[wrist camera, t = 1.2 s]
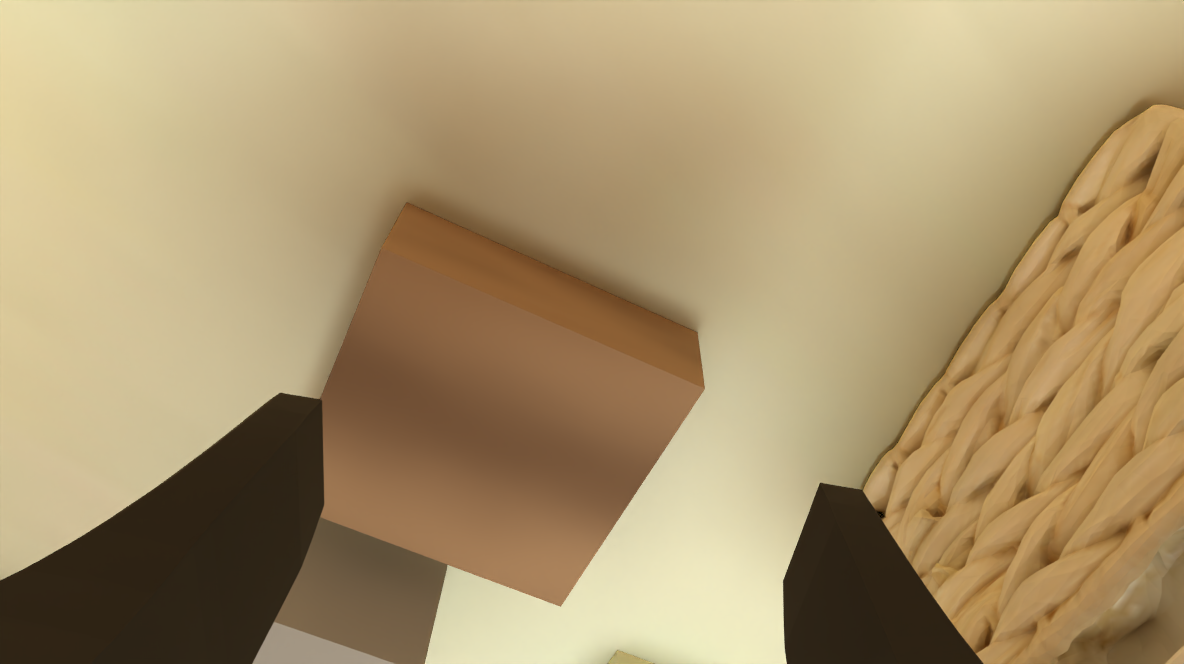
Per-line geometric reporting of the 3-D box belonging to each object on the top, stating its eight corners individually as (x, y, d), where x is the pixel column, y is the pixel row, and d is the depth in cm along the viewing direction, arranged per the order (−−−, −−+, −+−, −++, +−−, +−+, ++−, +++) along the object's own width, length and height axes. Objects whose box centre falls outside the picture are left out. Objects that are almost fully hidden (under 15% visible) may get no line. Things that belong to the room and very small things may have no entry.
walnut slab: (567, 531, 28) (560, 606, 25) (313, 432, 26) (278, 501, 24) (696, 325, 24) (704, 388, 21) (409, 196, 23) (381, 247, 20)
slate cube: (397, 638, 30) (358, 780, 26) (248, 586, 29) (182, 724, 25) (454, 536, 28) (422, 673, 23) (294, 475, 27) (230, 606, 22)
